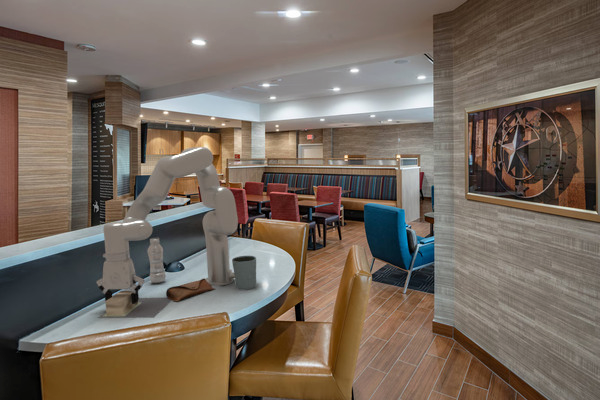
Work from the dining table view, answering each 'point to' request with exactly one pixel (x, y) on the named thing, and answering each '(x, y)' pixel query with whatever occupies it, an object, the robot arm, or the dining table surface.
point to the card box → (119, 303)
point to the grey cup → (244, 272)
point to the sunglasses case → (188, 290)
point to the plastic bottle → (156, 261)
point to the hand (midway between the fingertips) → (122, 302)
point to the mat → (143, 308)
